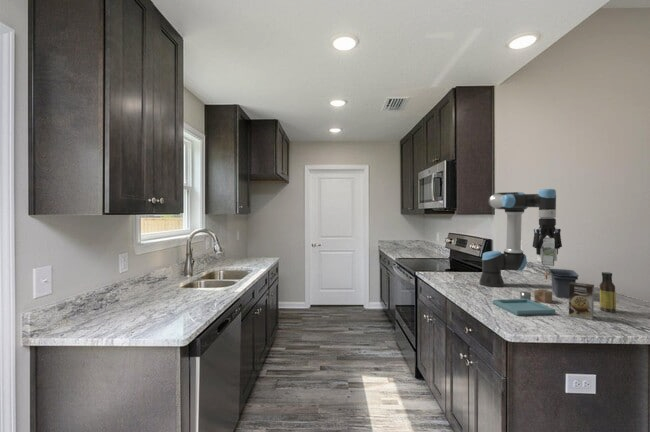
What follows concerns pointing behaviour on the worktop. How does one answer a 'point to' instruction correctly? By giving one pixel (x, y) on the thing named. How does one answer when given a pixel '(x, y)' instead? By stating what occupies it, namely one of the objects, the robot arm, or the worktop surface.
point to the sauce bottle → (607, 293)
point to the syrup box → (548, 251)
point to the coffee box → (581, 300)
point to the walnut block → (543, 296)
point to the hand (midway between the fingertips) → (547, 260)
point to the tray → (523, 307)
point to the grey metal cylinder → (525, 295)
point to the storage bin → (562, 281)
